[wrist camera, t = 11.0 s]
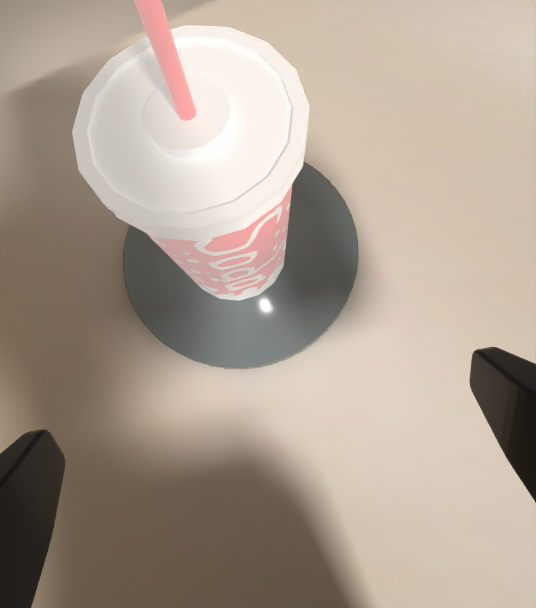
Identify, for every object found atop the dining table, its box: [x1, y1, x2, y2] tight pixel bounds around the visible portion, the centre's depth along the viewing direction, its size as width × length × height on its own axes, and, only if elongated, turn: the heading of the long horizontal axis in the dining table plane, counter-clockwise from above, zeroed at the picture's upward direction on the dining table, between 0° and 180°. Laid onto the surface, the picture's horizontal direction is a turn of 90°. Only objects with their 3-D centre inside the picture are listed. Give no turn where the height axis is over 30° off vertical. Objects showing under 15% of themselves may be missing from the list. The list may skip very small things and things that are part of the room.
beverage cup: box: [72, 0, 309, 301], centre depth 12 cm, size 6×6×14 cm
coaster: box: [123, 162, 358, 369], centre depth 20 cm, size 11×11×1 cm
